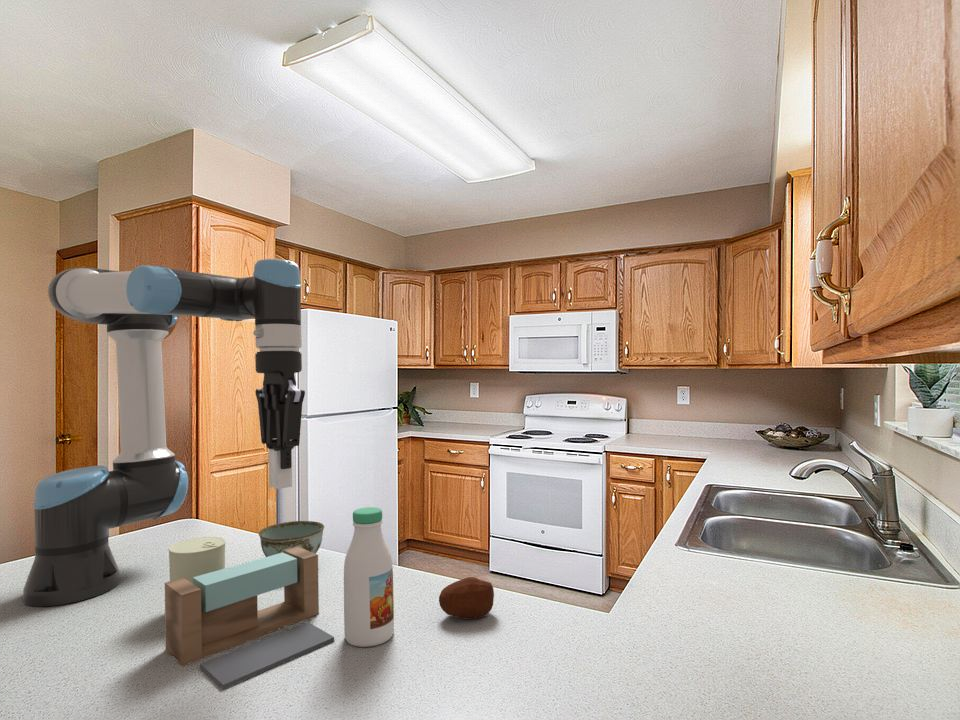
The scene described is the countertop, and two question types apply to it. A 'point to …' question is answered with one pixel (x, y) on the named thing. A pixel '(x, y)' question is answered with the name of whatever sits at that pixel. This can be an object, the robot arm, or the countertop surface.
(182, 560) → the can
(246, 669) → the mat
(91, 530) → the robot arm
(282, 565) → the slab
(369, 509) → the milk bottle
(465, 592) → the potato
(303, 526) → the bowl
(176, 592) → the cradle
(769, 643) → the countertop surface
